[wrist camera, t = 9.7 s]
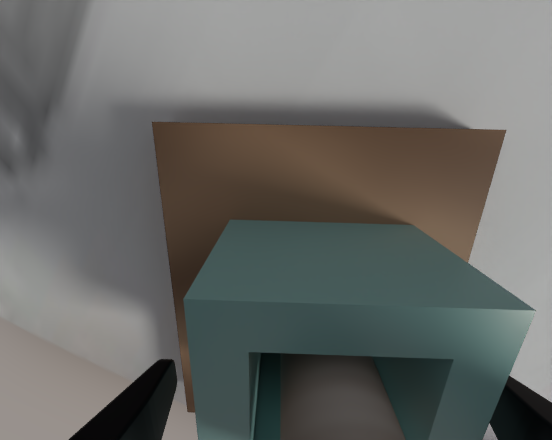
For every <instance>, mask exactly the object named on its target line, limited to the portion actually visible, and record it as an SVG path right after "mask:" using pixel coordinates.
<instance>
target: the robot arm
mask: <svg viewBox="0 0 552 440" xmlns="http://www.w3.org/2000/svg"><path fill="white" fill-rule="evenodd" d="M176 387H177V376H176V368H175V362H174V360H172V359H160V360H158V361H157V362H155V363H154V364H153V365H152V366H151V367H150V368H149V369H148V370H146V371H145V372H144V373H143V374H142V375H141V376H140V377H139V378H137V379H136V380H135V381H134V382H133V383H132V384H131V385H130V386H129V387H127V388H126V389H125V390H124V391H123V392H122V393H121V394H119V395H118V396H117V397H116V398H115V399H114V400H113V401H111V402H110V403H109V404H108V405H107V406H106V407H105V408H104V409H103V410H101V411H100V412H99V413H98V414H97V415H96V416H95V417H94V418H92V419H91V420H90V421H89V422H88V423H87V424H86V425H84V426H83V427H82V428H81V429H80V430H79V431H78V432H77V433H75V435H73V436H72V437H71V438H70V439H69V440H161V439H162V436H163V432H164V429H165V425H166V422H167V419H168V415H169V411H170V408H171V405H172V401H173V398H174V394H175V391H176ZM489 423H490V425H491V427H492V429H493V431H494V433H495V435H496V437H497V439H498V440H552V403H551V402H550V401H548V400H547V399H545V398H544V397H542V396H540V395H539V394H537V393H536V392H534V391H533V390H531V389H529V388H528V387H526V386H525V385H523V384H522V383H520V382H518V381H517V380H515V379H514V378H512V377H511V376H509V377H508V379H507V382H506V384H505V386H504V389H503V391H502V394H501V396H500V398H499V401H498V403H497V406H496V408H495V410H494V413H493V415H492V418H491V420H490V422H489Z"/></svg>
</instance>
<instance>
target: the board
mask: <svg viewBox="0 0 552 440" xmlns="http://www.w3.org/2000/svg"><path fill="white" fill-rule="evenodd" d="M152 127H153V135H154V143H155V151H156V159H157V167H158V175H159V183H160V191H161V200H162V208H163V216H164V224H165V232H166V240H167V248H168V256H169V265H170V273H171V281H172V289H173V297H174V305H175V313H176V321H177V329H178V338H179V346H180V354H181V362H182V370H183V378H184V386H185V394H186V402H187V411H188V412H195V405H194V395H193V386H192V376H191V367H190V357H189V348H188V338H187V329H186V320H185V310H184V301H183V299H184V297H185V295H186V294H187V292H188V290H189V289H190V287H191V285H192V283H193V282H194V280H195V278H196V277H197V275H198V273H199V272H200V270H201V268H202V266H203V265H204V263H205V261H206V260H207V258H208V256H209V255H210V253H211V251H212V249H213V248H214V246H215V244H216V243H217V241H218V239H219V237H220V236H221V234H222V232H223V231H224V229H225V227H226V226H227V224H228V222H229V220H262V221H295V222H329V223H363V224H396V225H414V226H416V227H417V228H418V229H420V230H421V231H423V232H424V233H426V234H427V235H429V236H430V237H431V238H433V239H434V240H436V241H437V242H439V243H440V244H441V245H443V246H444V247H446V248H447V249H449V250H450V251H451V252H453V253H454V254H456V255H457V256H459V257H460V258H461V259H463V260H464V261H466V262H467V263H468V260H469V257H470V253H471V250H472V246H473V243H474V240H475V236H476V233H477V229H478V226H479V222H480V219H481V216H482V212H483V209H484V205H485V202H486V198H487V195H488V191H489V188H490V185H491V181H492V178H493V174H494V171H495V167H496V164H497V160H498V157H499V154H500V150H501V147H502V143H503V140H504V136H505V133H506V130H484V129H441V128H397V127H354V126H310V125H267V124H223V123H180V122H152ZM280 440H406V439H405V436H404V434H403V431H402V429H401V427H400V424H399V422H398V419H397V417H396V414H395V412H394V409H393V407H392V404H391V402H390V399H389V397H388V394H387V392H386V390H385V387H384V385H383V382H382V380H381V377H380V375H379V372H378V370H377V367H376V365H375V362H374V360H373V358H372V356H345V355H317V354H288V353H281V404H280Z"/></svg>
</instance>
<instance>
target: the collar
mask: <svg viewBox="0 0 552 440" xmlns="http://www.w3.org/2000/svg"><path fill="white" fill-rule="evenodd" d="M183 301H184V310H185V320H186V329H187V338H188V348H189V357H190V367H191V376H192V386H193V395H194V405H195V414H196V423H197V433H198V440H280V404H281V353H288V354H317V355H345V356H372V358H373V360H374V362H375V365H376V367H377V370H378V372H379V375H380V377H381V380H382V382H383V385H384V387H385V390H386V392H387V394H388V397H389V399H390V402H391V404H392V407H393V409H394V412H395V414H396V417H397V419H398V422H399V424H400V427H401V429H402V431H403V434H404V436H405V439H406V440H482V439H483V437H484V434H485V432H486V430H487V427H488V425H489V422H490V420H491V418H492V415H493V413H494V410H495V408H496V406H497V403H498V401H499V398H500V396H501V394H502V391H503V389H504V386H505V384H506V382H507V379H508V377H509V374H510V372H511V370H512V367H513V365H514V362H515V360H516V358H517V355H518V353H519V350H520V348H521V346H522V343H523V341H524V338H525V336H526V334H527V331H528V329H529V326H530V324H531V322H532V319H533V317H534V314H535V312H536V310H534V309H533V308H531V307H530V306H529V305H527V304H526V303H524V302H523V301H521V300H520V299H519V298H517V297H516V296H514V295H513V294H511V293H510V292H509V291H507V290H506V289H504V288H503V287H501V286H500V285H499V284H497V283H496V282H494V281H493V280H491V279H490V278H489V277H487V276H486V275H484V274H483V273H481V272H480V271H479V270H477V269H476V268H474V267H473V266H471V265H470V264H469V263H467V262H466V261H464V260H463V259H461V258H460V257H459V256H457V255H456V254H454V253H453V252H451V251H450V250H449V249H447V248H446V247H444V246H443V245H441V244H440V243H439V242H437V241H436V240H434V239H433V238H431V237H430V236H429V235H427V234H426V233H424V232H423V231H421V230H420V229H418V228H417V227H416V226H414V225H396V224H363V223H329V222H295V221H262V220H229V222H228V224H227V226H226V227H225V229H224V231H223V232H222V234H221V236H220V237H219V239H218V241H217V243H216V244H215V246H214V248H213V249H212V251H211V253H210V255H209V256H208V258H207V260H206V261H205V263H204V265H203V266H202V268H201V270H200V272H199V273H198V275H197V277H196V278H195V280H194V282H193V283H192V285H191V287H190V289H189V290H188V292H187V294H186V295H185V297H184V299H183Z"/></svg>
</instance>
